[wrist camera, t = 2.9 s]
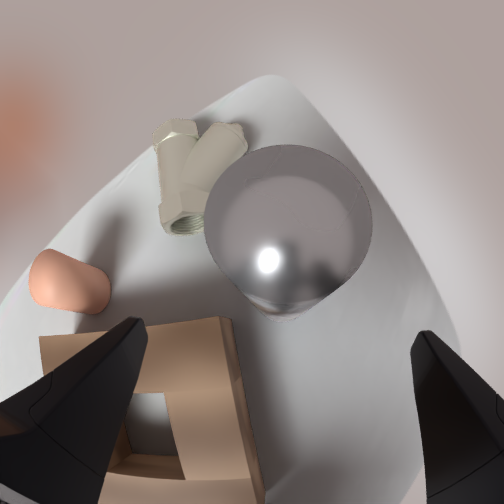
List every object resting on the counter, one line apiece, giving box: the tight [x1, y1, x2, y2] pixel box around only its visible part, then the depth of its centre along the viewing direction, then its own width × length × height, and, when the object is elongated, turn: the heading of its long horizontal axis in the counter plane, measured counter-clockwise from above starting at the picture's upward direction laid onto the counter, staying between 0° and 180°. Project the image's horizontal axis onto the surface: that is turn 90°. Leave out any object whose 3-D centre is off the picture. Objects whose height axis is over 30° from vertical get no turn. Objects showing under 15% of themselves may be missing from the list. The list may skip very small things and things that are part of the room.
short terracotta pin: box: [29, 249, 111, 315], centre depth 17 cm, size 4×4×6 cm
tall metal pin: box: [204, 145, 372, 322], centre depth 12 cm, size 4×4×13 cm
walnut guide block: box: [39, 316, 266, 504], centre depth 15 cm, size 13×13×4 cm
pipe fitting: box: [152, 119, 248, 236], centre depth 20 cm, size 8×4×7 cm
